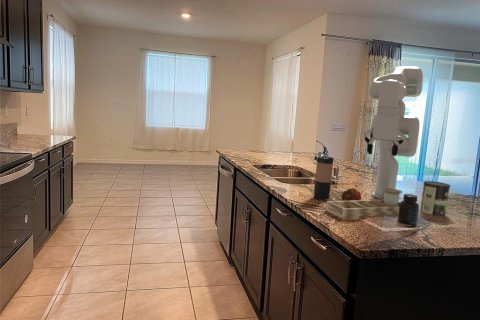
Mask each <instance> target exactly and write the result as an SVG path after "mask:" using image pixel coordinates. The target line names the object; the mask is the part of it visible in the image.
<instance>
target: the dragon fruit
mask: <svg viewBox="0 0 480 320" xmlns="http://www.w3.org/2000/svg"><path fill="white" fill-rule="evenodd" d="M340 197H341V201H355V200H362V194H361V192H360V191H358V189H356V188H355V187H353V188H348V189H346V190H345V191H343V192H342V194H341V196H340Z"/></svg>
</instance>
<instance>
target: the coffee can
mask: <svg viewBox="0 0 480 320" xmlns="http://www.w3.org/2000/svg"><path fill="white" fill-rule="evenodd" d="M450 188H451V184H449V183H445V182H439V181H433V180H432V181H431V180H423V186H422V194H421V200H420V206H419V211H420V212H421V213H424V214H427V215H432V216H446V215H447V209H448V208H447V207H448V200H449V194H450Z"/></svg>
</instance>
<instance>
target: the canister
mask: <svg viewBox="0 0 480 320" xmlns="http://www.w3.org/2000/svg"><path fill="white" fill-rule="evenodd" d="M400 190H401V189H397V188H396V189H392V188H385V189H384V191H385V193H384V198H383V200H384V201H383V205H386V206H389V207H398V202H400V195H401V194H400Z"/></svg>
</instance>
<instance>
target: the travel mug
mask: <svg viewBox="0 0 480 320" xmlns="http://www.w3.org/2000/svg"><path fill="white" fill-rule="evenodd" d="M315 167H316V168H315V177H314V191H313V197H314V198H313V199H316V200H318V201H326V200H329V199H330V193H331V188H332V187H331V186H332V176H333V167H334V158H333V157H331V156H320V157H319V156H317V159H316V166H315Z"/></svg>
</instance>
